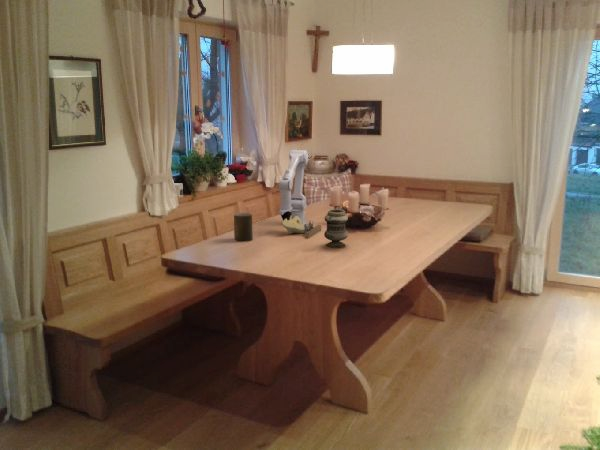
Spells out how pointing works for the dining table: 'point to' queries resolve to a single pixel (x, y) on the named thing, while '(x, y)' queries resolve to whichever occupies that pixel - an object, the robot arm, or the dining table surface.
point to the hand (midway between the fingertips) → (286, 225)
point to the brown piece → (311, 229)
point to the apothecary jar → (336, 227)
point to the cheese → (293, 225)
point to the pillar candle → (243, 227)
